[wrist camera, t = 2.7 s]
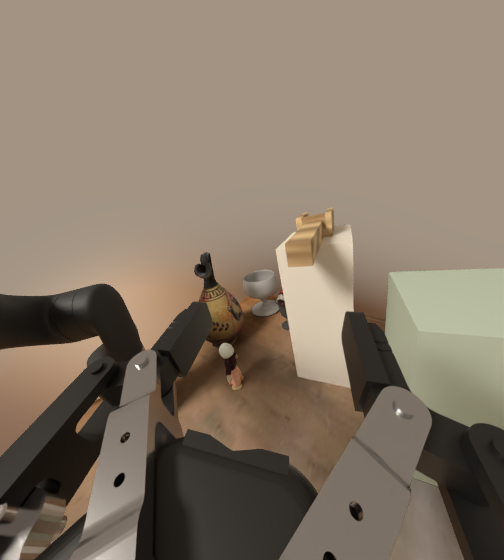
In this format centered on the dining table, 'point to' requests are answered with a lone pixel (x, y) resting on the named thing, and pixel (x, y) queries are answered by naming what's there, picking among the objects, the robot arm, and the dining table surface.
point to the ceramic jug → (219, 306)
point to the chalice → (262, 291)
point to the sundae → (282, 309)
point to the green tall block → (450, 341)
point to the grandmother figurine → (231, 366)
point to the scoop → (308, 238)
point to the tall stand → (320, 307)
